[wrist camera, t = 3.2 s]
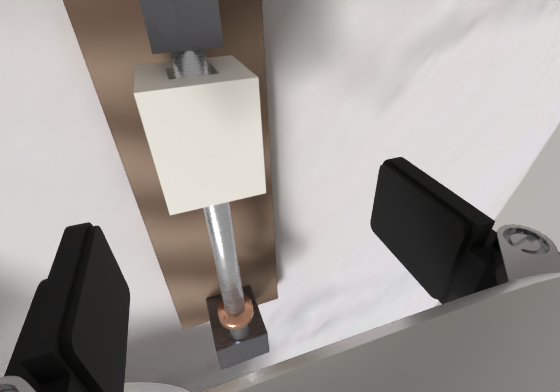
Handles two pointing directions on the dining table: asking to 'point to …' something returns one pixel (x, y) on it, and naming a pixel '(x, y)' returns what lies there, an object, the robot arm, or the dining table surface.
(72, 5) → the base board
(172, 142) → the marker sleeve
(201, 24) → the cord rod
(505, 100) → the dining table surface
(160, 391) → the plate stack
